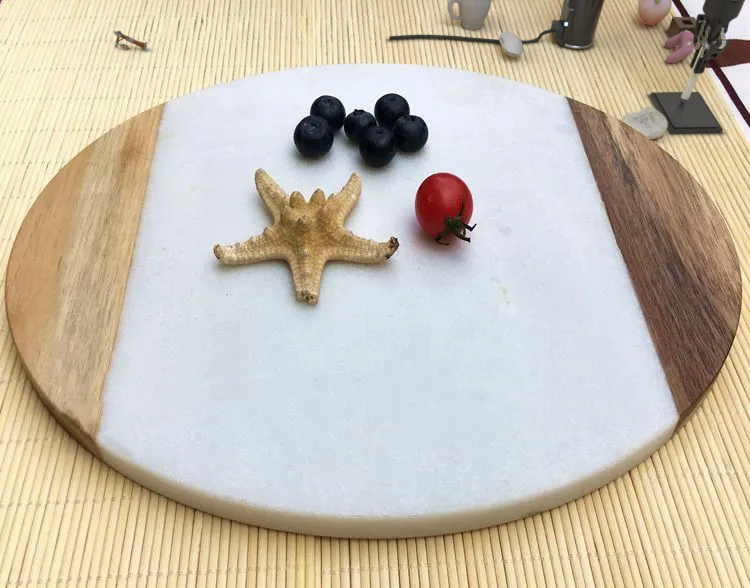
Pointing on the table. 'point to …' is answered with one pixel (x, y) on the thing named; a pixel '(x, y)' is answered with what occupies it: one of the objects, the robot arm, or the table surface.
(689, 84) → the stylus
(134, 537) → the table surface
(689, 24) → the pen block
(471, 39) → the robot arm
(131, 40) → the wooden post with brackets
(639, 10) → the decorative fruit
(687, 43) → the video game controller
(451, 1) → the mug
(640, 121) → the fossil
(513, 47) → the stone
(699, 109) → the tablet
